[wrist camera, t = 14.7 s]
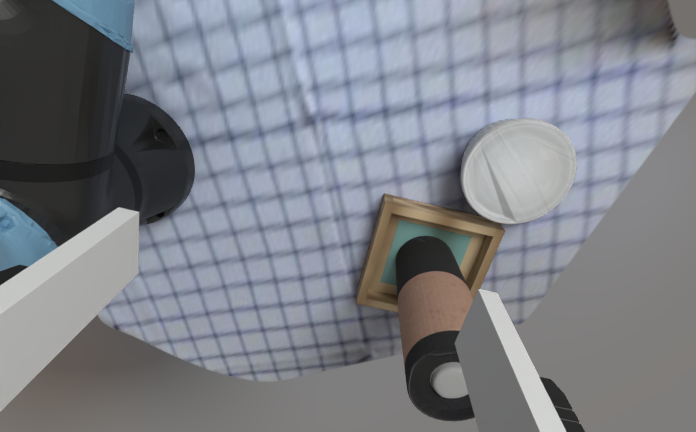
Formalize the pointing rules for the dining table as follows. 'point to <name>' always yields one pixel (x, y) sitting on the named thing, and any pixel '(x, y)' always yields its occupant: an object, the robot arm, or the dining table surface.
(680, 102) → the dining table surface
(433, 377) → the travel mug
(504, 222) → the ramekin
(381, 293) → the tray
